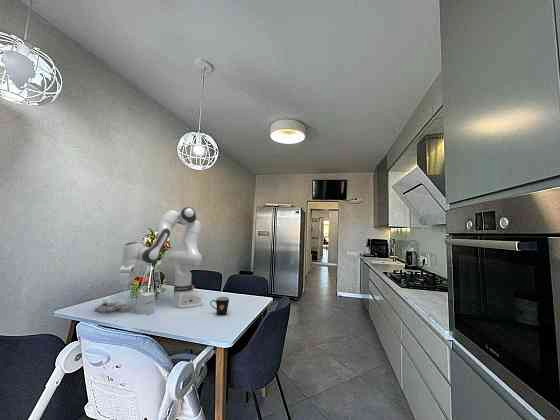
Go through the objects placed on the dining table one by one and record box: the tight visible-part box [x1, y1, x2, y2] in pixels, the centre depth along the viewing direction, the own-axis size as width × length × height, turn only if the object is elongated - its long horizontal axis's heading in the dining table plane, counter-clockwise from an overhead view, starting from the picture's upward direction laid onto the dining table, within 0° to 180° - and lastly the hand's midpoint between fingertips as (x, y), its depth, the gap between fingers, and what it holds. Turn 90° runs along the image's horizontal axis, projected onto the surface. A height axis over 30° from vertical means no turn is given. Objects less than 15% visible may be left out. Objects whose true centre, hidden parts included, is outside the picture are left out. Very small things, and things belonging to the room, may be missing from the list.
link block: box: [120, 305, 132, 314], centre depth 150 cm, size 5×4×5 cm
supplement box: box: [135, 291, 156, 316], centre depth 152 cm, size 7×7×13 cm
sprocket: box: [94, 299, 127, 314], centre depth 154 cm, size 15×17×5 cm
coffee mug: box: [209, 296, 230, 316], centre depth 159 cm, size 12×9×10 cm
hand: (127, 288), depth 153 cm, fingers open, 8 cm apart
